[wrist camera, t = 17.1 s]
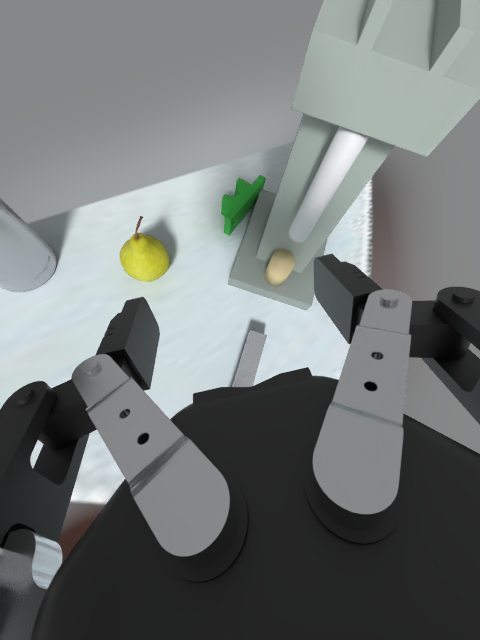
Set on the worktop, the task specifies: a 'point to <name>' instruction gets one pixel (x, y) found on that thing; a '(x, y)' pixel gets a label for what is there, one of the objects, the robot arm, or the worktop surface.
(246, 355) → the lever bar
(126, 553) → the robot arm
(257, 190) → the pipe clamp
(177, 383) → the worktop surface
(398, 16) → the post
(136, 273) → the fruit
